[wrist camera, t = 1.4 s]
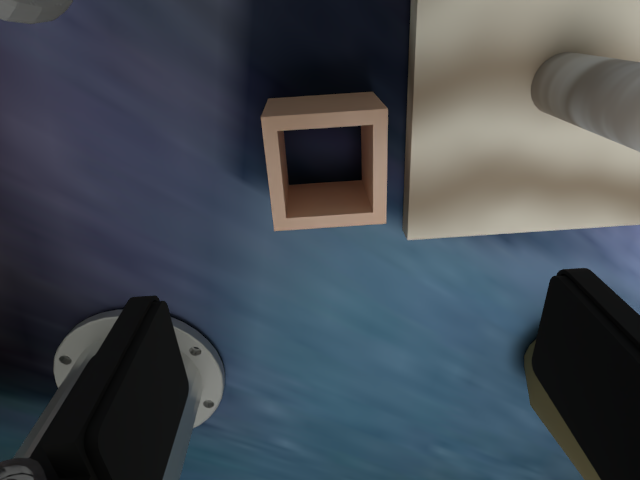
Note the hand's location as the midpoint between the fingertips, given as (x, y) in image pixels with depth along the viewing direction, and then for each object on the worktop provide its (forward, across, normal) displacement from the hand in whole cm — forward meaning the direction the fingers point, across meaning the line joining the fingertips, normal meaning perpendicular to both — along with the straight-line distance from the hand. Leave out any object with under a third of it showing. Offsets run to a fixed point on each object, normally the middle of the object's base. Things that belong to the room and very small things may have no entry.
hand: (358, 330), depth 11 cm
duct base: (+17, -13, -3) cm, 22 cm away
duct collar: (+17, 0, 0) cm, 17 cm away
